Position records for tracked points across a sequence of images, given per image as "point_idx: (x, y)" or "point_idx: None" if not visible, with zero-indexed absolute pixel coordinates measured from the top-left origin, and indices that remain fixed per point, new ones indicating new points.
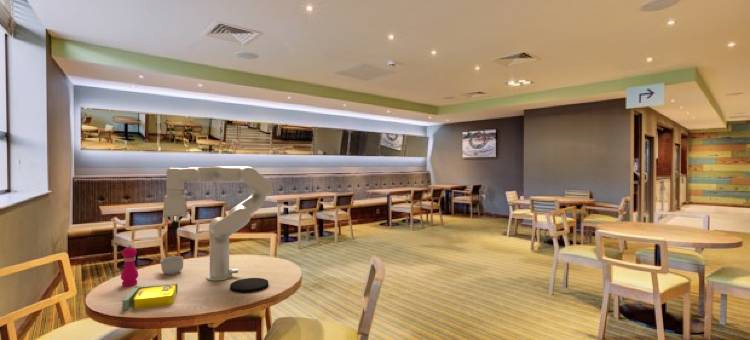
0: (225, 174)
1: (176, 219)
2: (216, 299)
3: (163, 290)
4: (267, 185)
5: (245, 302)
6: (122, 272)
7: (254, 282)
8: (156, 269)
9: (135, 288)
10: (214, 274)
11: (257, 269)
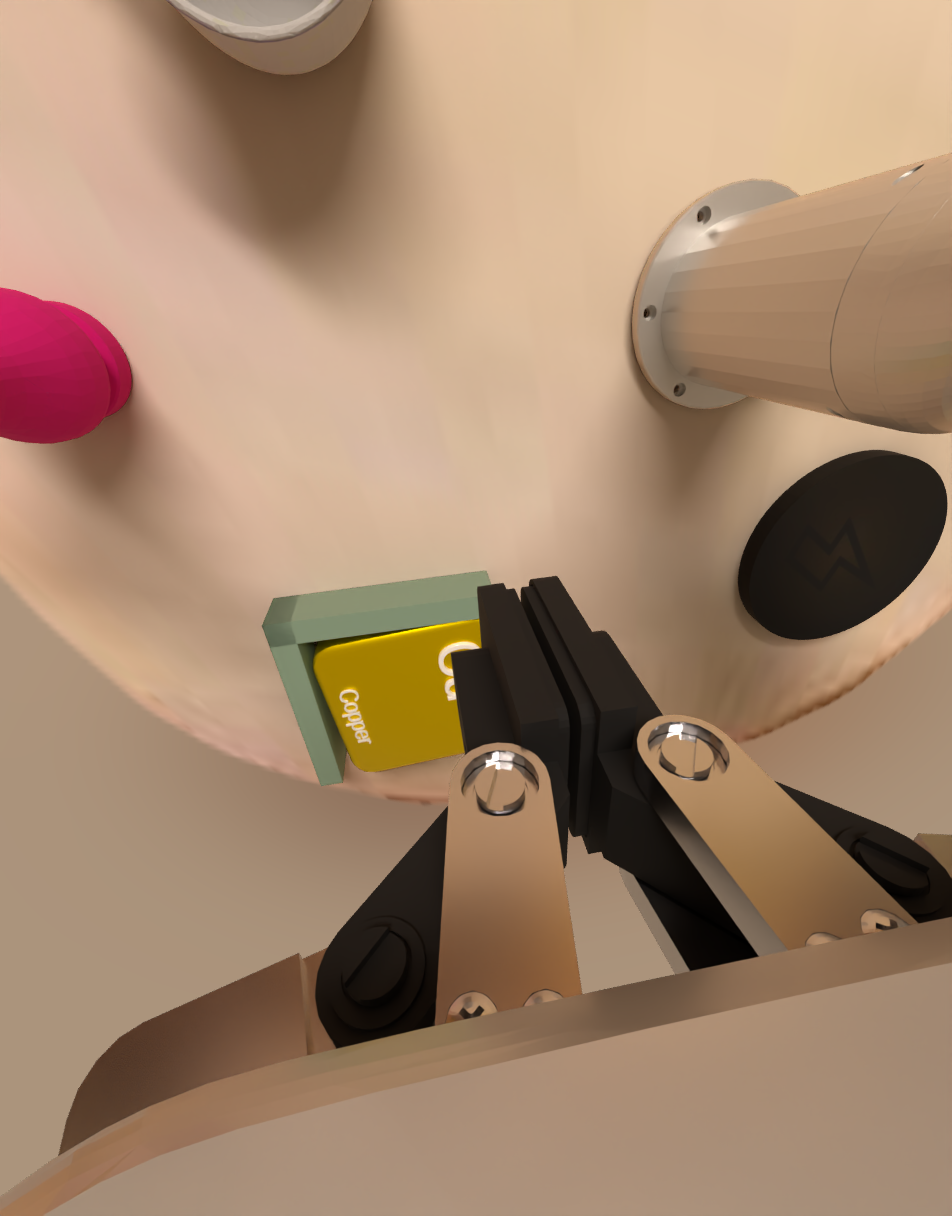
0: None
1: (652, 919)
2: (666, 685)
3: (454, 698)
4: None
5: (759, 718)
6: None
7: (873, 545)
8: None
9: (285, 656)
10: (703, 383)
11: None
